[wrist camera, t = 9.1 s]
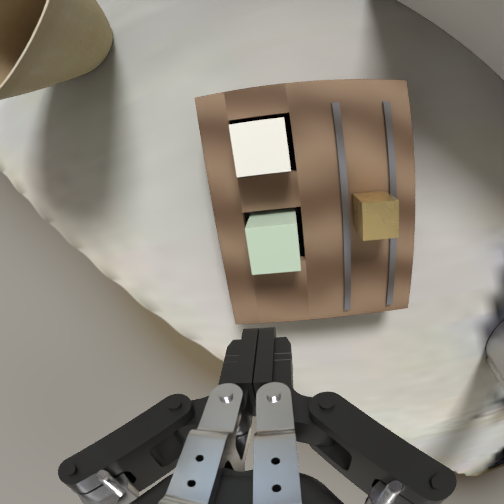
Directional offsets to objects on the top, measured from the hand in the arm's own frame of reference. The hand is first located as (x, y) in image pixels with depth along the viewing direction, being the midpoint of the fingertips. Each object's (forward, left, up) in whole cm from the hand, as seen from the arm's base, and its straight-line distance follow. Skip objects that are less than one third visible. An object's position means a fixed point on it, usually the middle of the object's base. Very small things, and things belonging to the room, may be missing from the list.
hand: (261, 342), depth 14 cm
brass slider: (+2, -9, -14) cm, 16 cm away
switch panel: (+2, -4, -20) cm, 20 cm away
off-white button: (+8, 0, -16) cm, 18 cm away
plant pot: (+25, +19, -20) cm, 37 cm away
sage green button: (0, 0, -16) cm, 16 cm away
